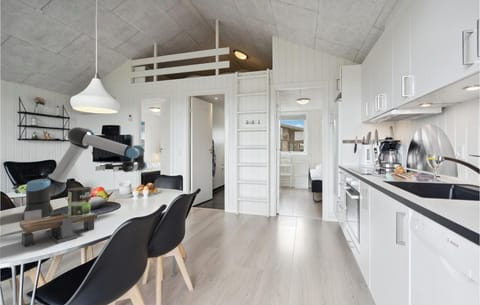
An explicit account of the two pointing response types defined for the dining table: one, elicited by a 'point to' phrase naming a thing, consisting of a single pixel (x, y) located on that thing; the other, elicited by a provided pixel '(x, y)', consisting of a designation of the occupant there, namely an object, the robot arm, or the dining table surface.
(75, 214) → the coffee can
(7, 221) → the dining table surface
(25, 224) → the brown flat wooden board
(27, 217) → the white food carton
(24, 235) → the pivot stand
